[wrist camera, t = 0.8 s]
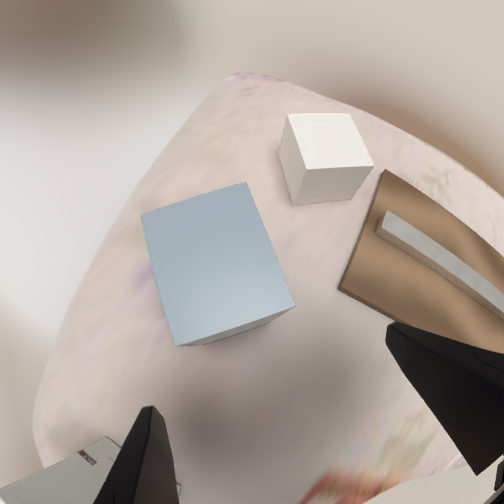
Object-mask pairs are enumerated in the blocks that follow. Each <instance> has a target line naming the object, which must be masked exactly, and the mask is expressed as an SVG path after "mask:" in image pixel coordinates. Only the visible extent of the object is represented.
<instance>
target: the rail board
mask: <svg viewBox="0 0 504 504" xmlns="http://www.w3.org/2000/svg"><path fill="white" fill-rule="evenodd" d="M338 290H340V291H342V292H344V293H346V294H347V295H349V296H351V297H353V298H355V299H357V300H359V301H360V302H362V303H364V304H366V305H368V306H370V307H371V308H373V309H375V310H377V311H379V312H381V313H382V314H384V315H386V316H388V317H390V318H392V319H393V320H395V321H398V322H401V323H404V324H407V325H410V326H413V327H416V328H419V329H422V330H426V331H429V332H432V333H435V334H438V335H441V336H444V337H447V338H450V339H453V340H457V341H460V342H463V343H466V344H469V345H472V346H476V347H479V348H483V349H486V350H490V351H494V352H499V353H504V257H503V256H502V255H501V254H500V253H499V252H497V251H496V250H495V249H494V248H493V247H492V246H491V245H490V244H488V243H487V242H486V241H485V240H484V239H483V238H481V237H480V236H479V235H478V234H477V233H476V232H474V231H473V230H472V229H471V228H469V227H468V226H467V225H466V224H464V223H463V222H462V221H461V220H459V219H458V218H457V217H455V216H454V215H453V214H452V213H450V212H449V211H448V210H446V209H445V208H443V207H442V206H441V205H439V204H438V203H437V202H435V201H434V200H432V199H431V198H429V197H428V196H427V195H425V194H424V193H422V192H421V191H419V190H418V189H416V188H415V187H413V186H412V185H410V184H409V183H407V182H406V181H404V180H402V179H401V178H399V177H398V176H396V175H394V174H393V173H391V172H390V171H388V170H386V169H385V170H384V171H383V172H382V174H381V177H380V180H379V183H378V186H377V189H376V192H375V195H374V198H373V201H372V203H371V206H370V209H369V212H368V215H367V217H366V220H365V223H364V225H363V228H362V231H361V233H360V236H359V238H358V241H357V243H356V246H355V249H354V251H353V253H352V256H351V258H350V261H349V263H348V266H347V268H346V270H345V273H344V275H343V277H342V280H341V282H340V284H339V286H338Z"/></svg>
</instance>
